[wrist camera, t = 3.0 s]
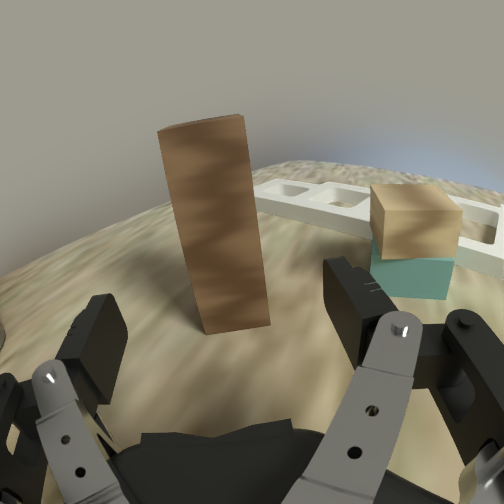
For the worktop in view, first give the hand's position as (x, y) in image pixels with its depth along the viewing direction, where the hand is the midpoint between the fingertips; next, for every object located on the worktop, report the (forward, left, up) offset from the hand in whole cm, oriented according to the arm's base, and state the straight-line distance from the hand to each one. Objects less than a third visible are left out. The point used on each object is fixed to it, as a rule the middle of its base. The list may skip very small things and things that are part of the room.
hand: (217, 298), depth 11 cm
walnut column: (-5, +10, -9) cm, 15 cm away
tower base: (+9, +17, -10) cm, 22 cm away
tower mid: (+9, +17, -6) cm, 20 cm away
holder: (+10, +32, -10) cm, 35 cm away
